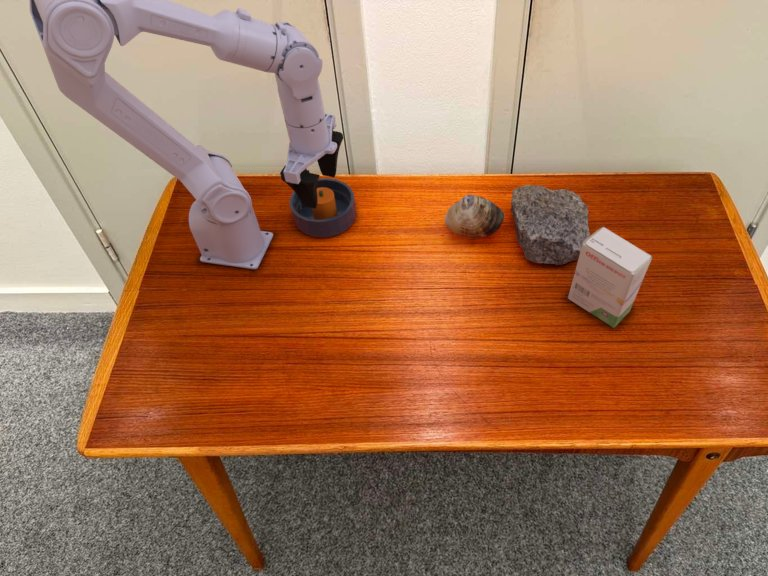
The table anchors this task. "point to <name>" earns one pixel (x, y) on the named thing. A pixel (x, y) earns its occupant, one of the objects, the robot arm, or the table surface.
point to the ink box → (608, 276)
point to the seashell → (474, 217)
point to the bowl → (332, 225)
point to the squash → (325, 204)
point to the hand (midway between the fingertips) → (319, 190)
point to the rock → (549, 223)
